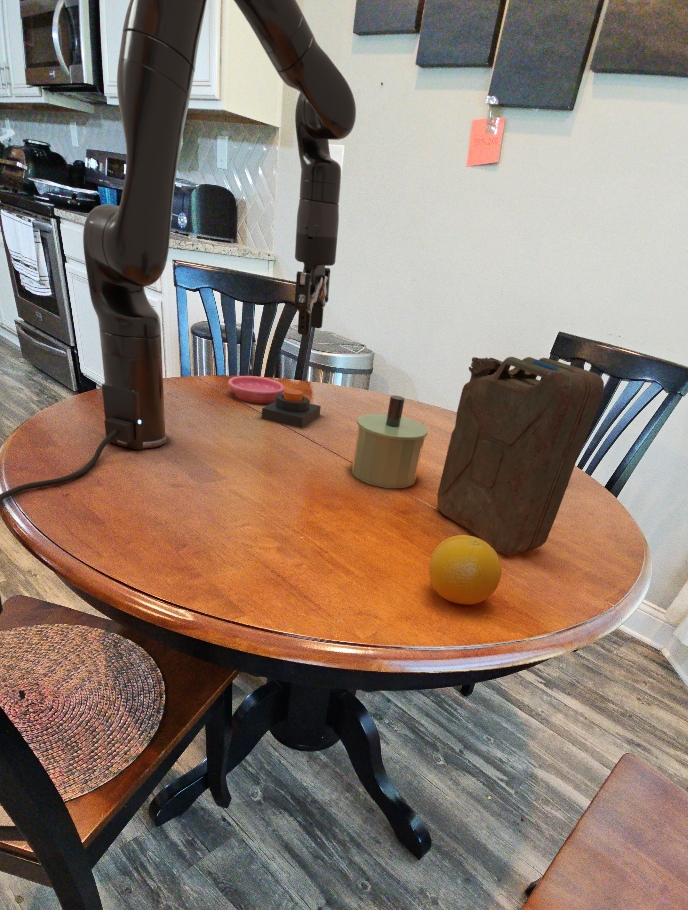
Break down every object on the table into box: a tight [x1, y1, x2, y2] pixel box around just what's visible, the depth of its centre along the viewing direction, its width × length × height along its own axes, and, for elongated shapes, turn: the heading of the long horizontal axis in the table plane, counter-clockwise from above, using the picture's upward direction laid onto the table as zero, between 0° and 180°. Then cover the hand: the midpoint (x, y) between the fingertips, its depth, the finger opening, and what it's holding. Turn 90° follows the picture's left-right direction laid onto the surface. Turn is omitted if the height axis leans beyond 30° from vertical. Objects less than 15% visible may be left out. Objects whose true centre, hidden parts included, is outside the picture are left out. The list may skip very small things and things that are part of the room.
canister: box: [436, 356, 605, 556], centre depth 85 cm, size 19×8×25 cm, turn 32°
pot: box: [351, 425, 426, 489], centre depth 103 cm, size 11×11×8 cm
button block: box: [261, 392, 322, 429], centre depth 124 cm, size 11×9×4 cm
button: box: [283, 388, 304, 402], centre depth 123 cm, size 4×4×2 cm
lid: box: [356, 394, 429, 440], centre depth 99 cm, size 12×12×6 cm
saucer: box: [228, 375, 285, 404], centre depth 133 cm, size 12×12×3 cm
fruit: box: [428, 534, 502, 606], centre depth 72 cm, size 9×8×8 cm
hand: (310, 331), depth 116 cm, fingers open, 8 cm apart
